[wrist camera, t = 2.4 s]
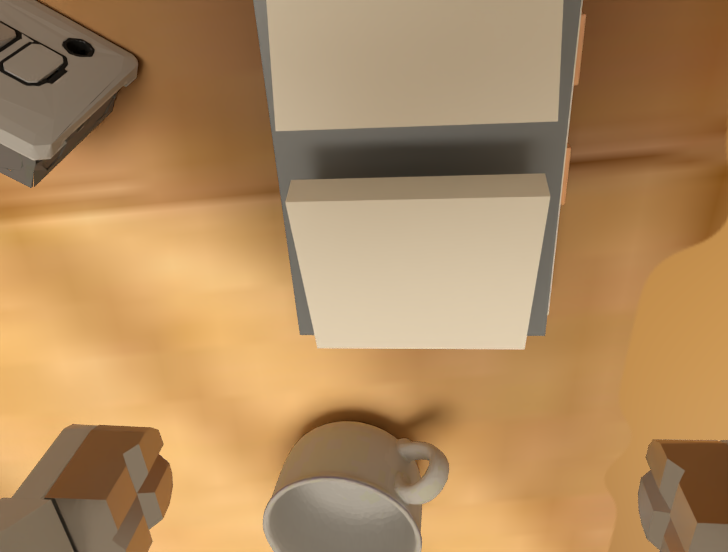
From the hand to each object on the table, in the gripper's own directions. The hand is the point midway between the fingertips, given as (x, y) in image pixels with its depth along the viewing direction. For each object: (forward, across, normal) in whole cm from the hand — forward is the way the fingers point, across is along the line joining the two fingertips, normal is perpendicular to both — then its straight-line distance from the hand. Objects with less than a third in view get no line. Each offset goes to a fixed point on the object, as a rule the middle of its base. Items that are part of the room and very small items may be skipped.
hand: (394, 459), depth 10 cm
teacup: (+27, +4, +26) cm, 38 cm away
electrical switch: (+26, +20, -3) cm, 33 cm away
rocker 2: (+19, 0, +6) cm, 20 cm away
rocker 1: (+19, 0, -6) cm, 19 cm away
